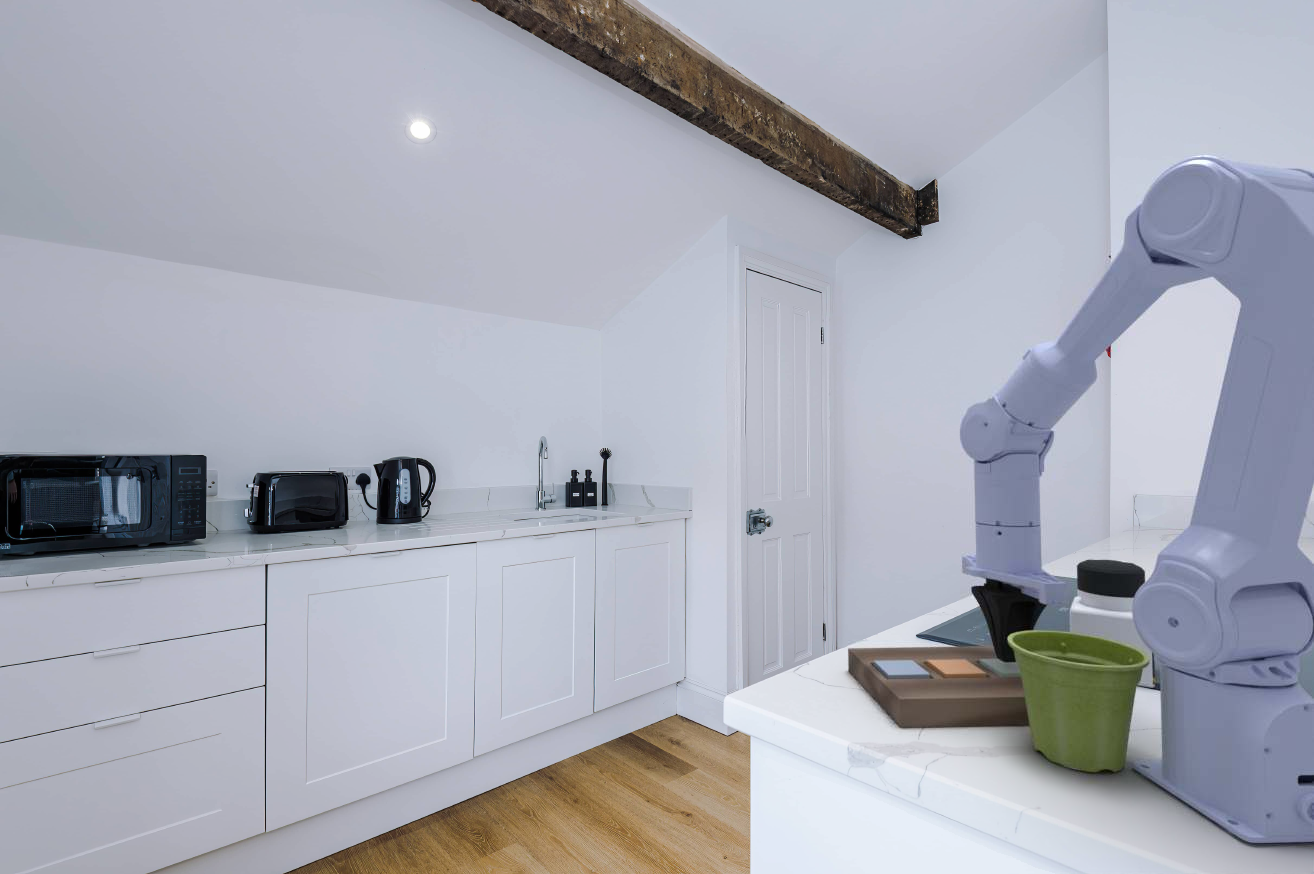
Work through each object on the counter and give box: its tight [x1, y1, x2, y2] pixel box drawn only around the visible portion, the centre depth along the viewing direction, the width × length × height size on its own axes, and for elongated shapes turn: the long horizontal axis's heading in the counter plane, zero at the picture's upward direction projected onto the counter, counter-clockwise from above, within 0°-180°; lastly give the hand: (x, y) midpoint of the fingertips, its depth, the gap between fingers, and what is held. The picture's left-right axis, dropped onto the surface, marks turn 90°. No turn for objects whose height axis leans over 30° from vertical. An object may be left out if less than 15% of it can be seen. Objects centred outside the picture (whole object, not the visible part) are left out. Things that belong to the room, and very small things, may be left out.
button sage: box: [980, 659, 1021, 677], centre depth 62 cm, size 4×4×2 cm
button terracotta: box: [927, 659, 987, 678], centre depth 62 cm, size 4×4×2 cm
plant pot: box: [1008, 629, 1150, 773], centre depth 50 cm, size 9×9×9 cm
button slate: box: [874, 660, 930, 679], centre depth 62 cm, size 4×4×2 cm
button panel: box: [847, 645, 1030, 729], centre depth 62 cm, size 14×17×2 cm
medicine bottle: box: [1069, 558, 1156, 689], centre depth 68 cm, size 7×7×12 cm
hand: (1010, 660), depth 62 cm, fingers closed
